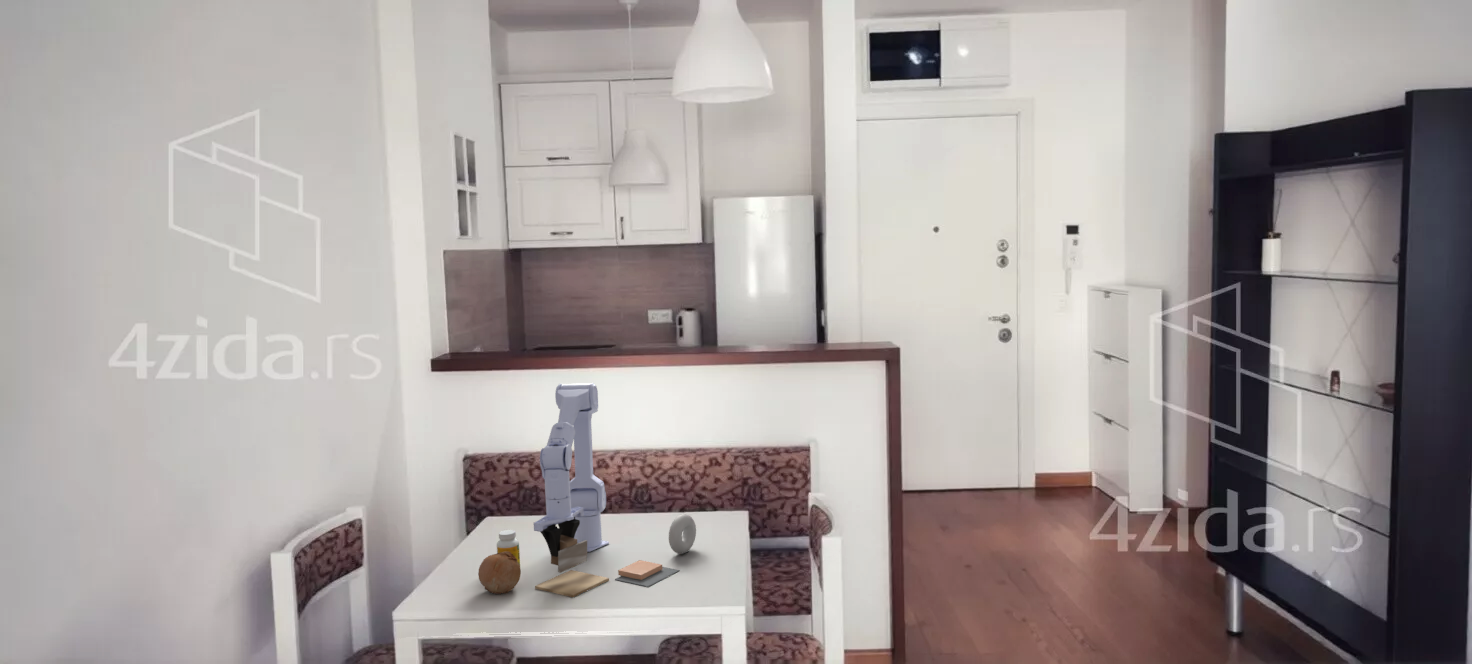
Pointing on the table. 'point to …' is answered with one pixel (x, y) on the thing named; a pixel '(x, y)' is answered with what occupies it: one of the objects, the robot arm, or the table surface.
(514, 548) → the supplement bottle
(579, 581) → the oak board
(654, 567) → the tile
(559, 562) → the brown grey t-shaped block
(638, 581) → the slate mat
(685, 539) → the donut
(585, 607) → the table surface
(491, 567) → the onion
